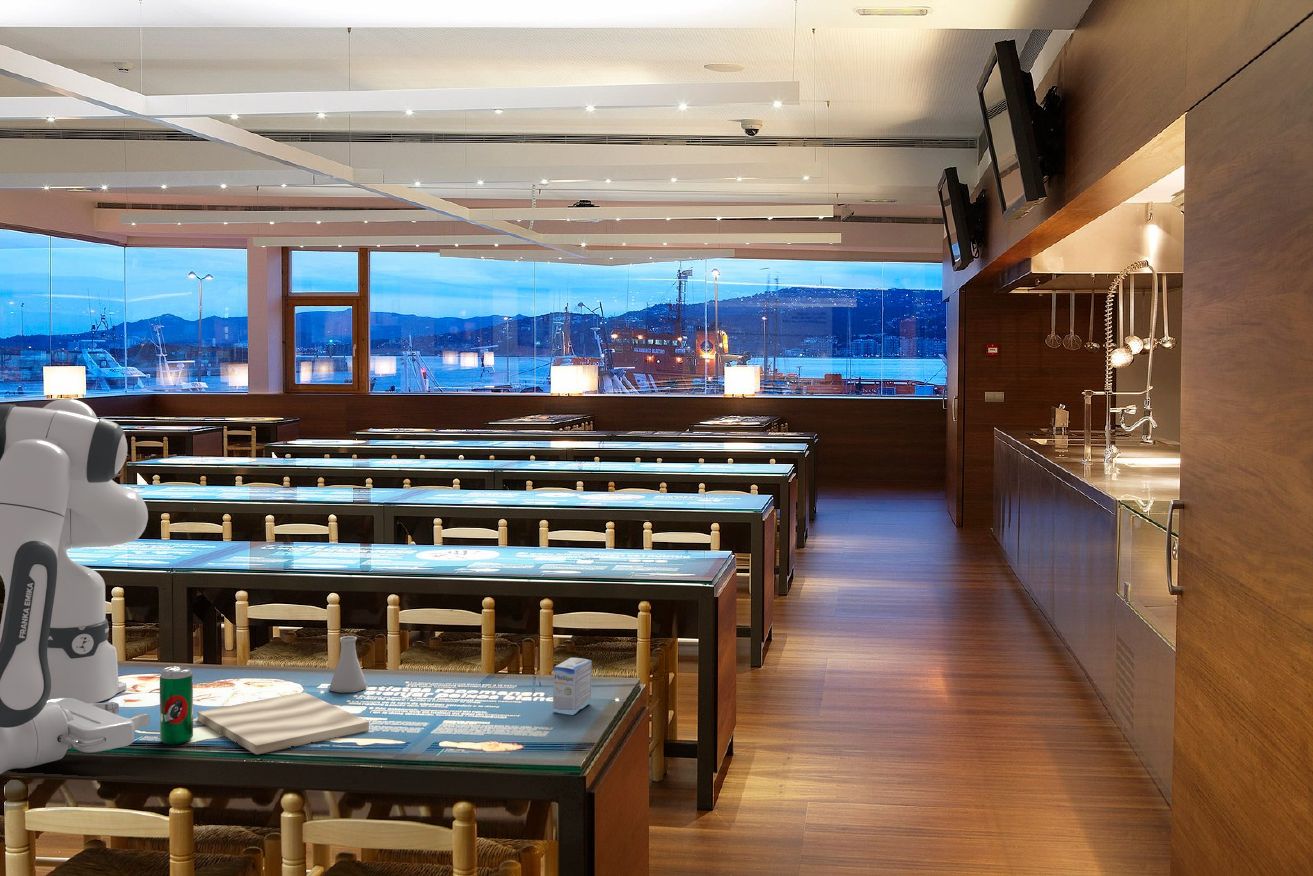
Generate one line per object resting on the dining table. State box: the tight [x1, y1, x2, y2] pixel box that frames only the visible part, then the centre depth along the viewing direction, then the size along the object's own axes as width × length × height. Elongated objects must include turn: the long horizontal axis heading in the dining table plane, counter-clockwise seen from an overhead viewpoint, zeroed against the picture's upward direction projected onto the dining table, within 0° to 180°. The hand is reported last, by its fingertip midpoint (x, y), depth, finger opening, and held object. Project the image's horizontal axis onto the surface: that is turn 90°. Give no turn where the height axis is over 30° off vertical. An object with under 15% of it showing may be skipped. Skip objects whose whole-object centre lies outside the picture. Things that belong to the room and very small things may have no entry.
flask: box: [328, 635, 368, 693], centre depth 229 cm, size 7×7×10 cm
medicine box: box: [552, 657, 593, 710], centre depth 218 cm, size 8×4×9 cm, turn 161°
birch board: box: [196, 691, 370, 755], centre depth 205 cm, size 24×20×2 cm
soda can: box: [159, 665, 194, 745], centre depth 195 cm, size 5×5×12 cm
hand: (131, 712), depth 189 cm, fingers open, 8 cm apart
